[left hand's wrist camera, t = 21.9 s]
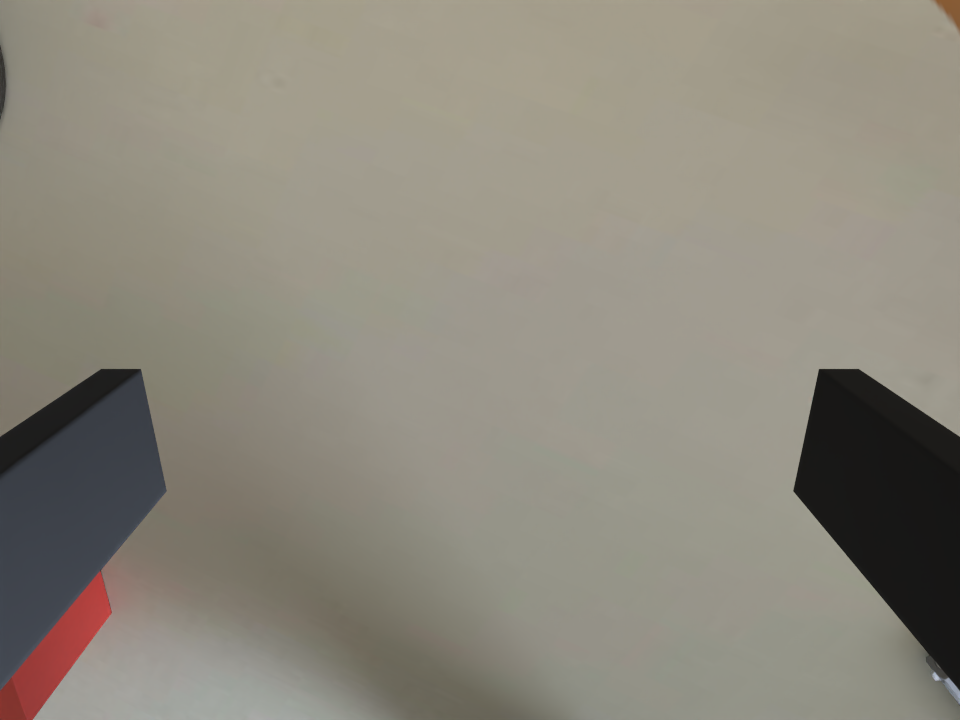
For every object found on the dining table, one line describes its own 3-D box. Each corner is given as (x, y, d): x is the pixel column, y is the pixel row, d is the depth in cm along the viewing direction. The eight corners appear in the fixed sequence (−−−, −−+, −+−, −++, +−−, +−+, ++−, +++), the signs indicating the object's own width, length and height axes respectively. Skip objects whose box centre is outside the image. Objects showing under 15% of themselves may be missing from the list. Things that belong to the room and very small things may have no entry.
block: (111, 612, 57) (28, 725, 46) (57, 612, 57) (-39, 725, 46) (97, 559, 55) (7, 665, 44) (40, 559, 55) (-64, 665, 44)
